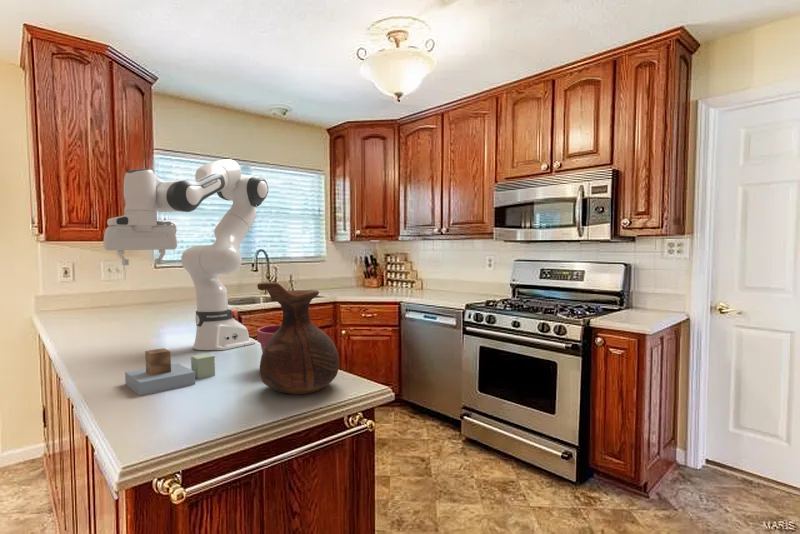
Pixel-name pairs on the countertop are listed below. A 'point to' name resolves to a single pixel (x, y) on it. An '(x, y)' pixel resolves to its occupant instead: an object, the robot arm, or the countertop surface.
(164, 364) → the walnut block
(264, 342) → the plant pot
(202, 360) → the sage block
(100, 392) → the countertop surface
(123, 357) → the countertop surface
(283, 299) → the jug
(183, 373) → the slate base block
